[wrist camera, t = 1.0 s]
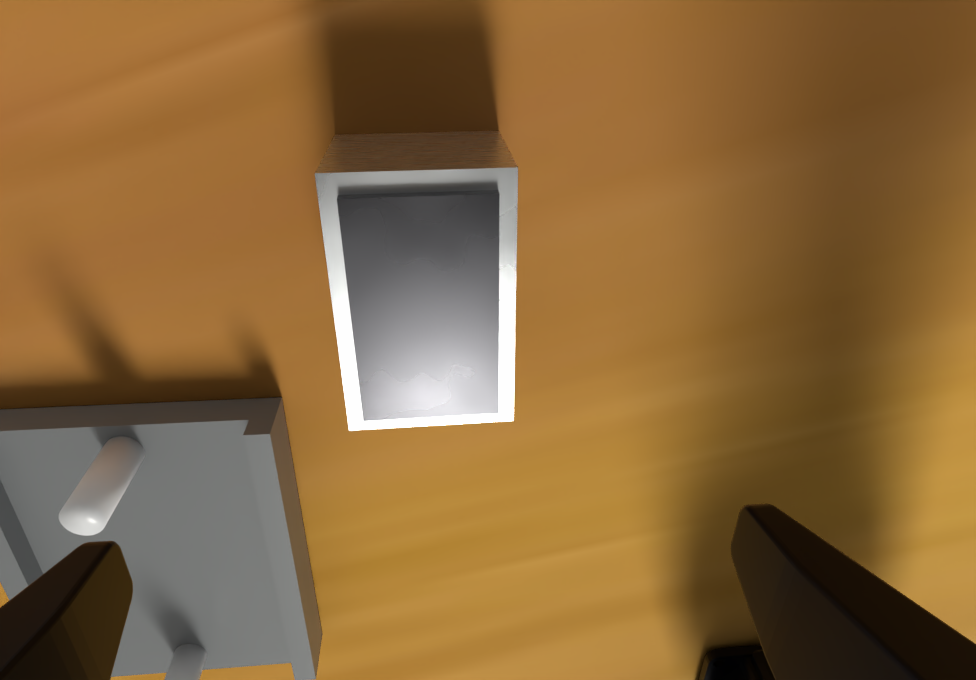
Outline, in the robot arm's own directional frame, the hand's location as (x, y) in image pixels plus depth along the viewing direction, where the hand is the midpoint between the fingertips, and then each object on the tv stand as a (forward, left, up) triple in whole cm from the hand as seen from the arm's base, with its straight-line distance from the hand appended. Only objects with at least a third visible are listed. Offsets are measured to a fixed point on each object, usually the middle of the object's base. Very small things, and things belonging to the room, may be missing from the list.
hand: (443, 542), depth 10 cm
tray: (-11, +10, -12) cm, 19 cm away
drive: (0, 0, -12) cm, 12 cm away
